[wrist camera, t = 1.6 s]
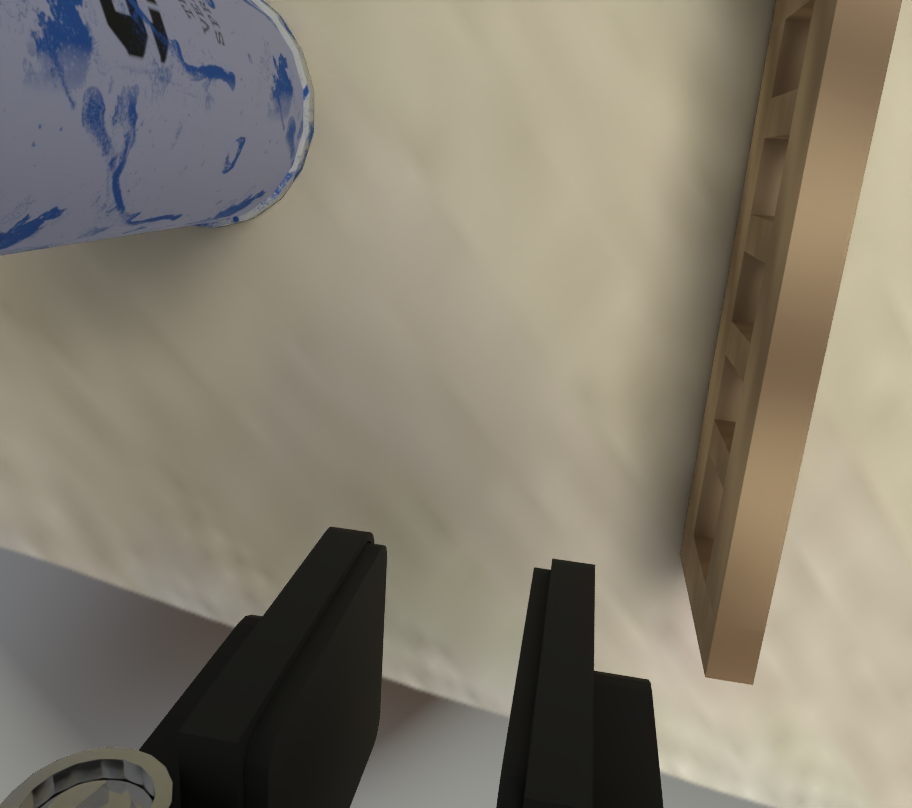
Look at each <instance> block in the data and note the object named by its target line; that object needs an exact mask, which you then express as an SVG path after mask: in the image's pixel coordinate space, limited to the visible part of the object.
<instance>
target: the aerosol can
mask: <svg viewBox="0 0 912 808" xmlns="http://www.w3.org/2000/svg"><path fill="white" fill-rule="evenodd" d="M313 133H314V91H313V87H312V83H311V80H310V76H309V72H308V69H307V65H306V62H305V58H304V54H303V51H302V50H301V48H300V46H299V45H298V43H297V41H296V40H295V38H294V37H293V35H292V33H291V32H290V30H289V28H288V27H287V25H286V23H285V22H284V20H283V19H282V17H281V16H280V15H279V14H278V13H277V12H276V11H275V10H273V9H272V8H271V7H270V6H269V5H268V4H267V3H266V2H264V1H263V0H0V255H5V254H11V253H18V252H24V251H31V250H37V249H44V248H50V247H57V246H63V245H69V244H76V243H82V242H89V241H95V240H102V239H108V238H115V237H121V236H128V235H134V234H141V233H147V232H154V231H160V230H166V229H173V228H179V227H186V226H202V227H214V228H217V227H222V226H226V225H230V224H234V223H237V222H241V221H245V220H249V219H252V218H255V217H256V216H257V215H259V214H260V213H262V212H263V211H264V210H266V209H267V208H269V207H270V206H272V205H273V204H274V203H276V202H277V201H279V200H280V199H281V198H282V197H283V196H284V194H285V193H286V191H287V190H288V189H289V187H290V186H291V184H292V183H293V181H294V180H295V179H296V177H297V176H298V174H299V173H300V172H301V170H302V168H303V165H304V162H305V158H306V155H307V152H308V149H309V146H310V142H311V139H312V136H313Z"/></svg>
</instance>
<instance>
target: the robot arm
mask: <svg viewBox="0 0 912 808" xmlns="http://www.w3.org/2000/svg"><path fill="white" fill-rule="evenodd" d="M386 568H387V549H386V546H384V545H378V544H374V537H373V534H372V533H371V532H364V531H357V530H350V529H343V528H336V527H330V528H328V529H327V531H326V532H325V533H324V535H323V536H322V537H321V539H320V540H319V541H318V543H317V544H316V545H315V547H314V548H313V549H312V551H311V552H310V553H309V555H308V556H307V558H306V559H305V560H304V562H303V563H302V564H301V566H300V567H299V568H298V570H297V571H296V572H295V574H294V575H293V576H292V578H291V579H290V580H289V582H288V583H287V584H286V586H285V587H284V589H283V590H282V591H281V593H280V594H279V595H278V597H277V598H276V599H275V601H274V602H273V603H272V605H271V606H270V607H269V609H268V610H267V611H266V613H265V614H264V616H256V615H249V616H245V617H244V618H243V619H242V620H241V621H240V622H239V623H238V624H237V626H236V627H235V628H234V629H233V631H232V632H231V633H230V635H229V636H228V637H227V638H226V640H225V641H224V642H223V644H222V645H221V646H220V647H219V649H218V650H217V651H216V652H215V654H214V655H213V656H212V658H211V659H210V660H209V661H208V663H207V664H206V665H205V667H204V668H203V669H202V670H201V672H200V673H199V674H198V676H197V677H196V678H195V679H194V681H193V682H192V683H191V684H190V686H189V687H188V688H187V689H186V691H185V692H184V693H183V695H182V696H181V697H180V699H179V700H178V701H177V702H176V703H175V705H174V706H173V707H172V709H171V710H170V711H169V712H168V714H167V715H166V716H165V718H164V719H163V720H162V722H161V723H160V724H159V725H158V726H157V728H156V729H155V730H154V732H153V733H152V734H151V736H150V737H149V738H148V739H147V741H146V742H145V743H144V744H143V746H142V747H141V748H140V750H139V751H138V750H135V749H132V748H116V747H105V748H98V749H92V750H85V751H81V752H78V753H76V754H73V755H70V756H67V757H64V758H61V759H58V760H56V761H54V762H53V763H51V764H49V765H47V766H45V767H44V768H42V769H40V770H38V771H37V772H35V773H33V774H32V775H31V776H30V777H28V778H27V779H26V780H25V781H24V782H23V783H21V784H20V785H19V786H18V787H17V788H16V789H15V790H13V791H12V792H11V793H10V795H8V797H7V798H6V799H5V800H4V801H3V802H2V803H1V804H0V808H350V805H351V803H352V800H353V797H354V795H355V792H356V790H357V787H358V785H359V782H360V779H361V777H362V774H363V772H364V769H365V766H366V764H367V761H368V759H369V756H370V754H371V751H372V748H373V746H374V743H375V739H376V735H377V731H378V726H379V719H380V702H381V680H382V657H383V635H384V612H385V590H386ZM594 609H595V565H593V564H586V563H579V562H572V561H565V560H558V559H552V566H551V570H548V569H542V568H535V567H534V572H533V578H532V584H531V590H530V596H529V603H528V609H527V615H526V621H525V627H524V634H523V640H522V646H521V652H520V659H519V665H518V671H517V677H516V683H515V690H514V696H513V702H512V708H511V714H510V721H509V727H508V733H507V739H506V746H505V752H504V758H503V764H502V770H501V777H500V784H499V792H498V799H497V807H496V808H663V799H662V789H661V779H660V768H659V758H658V748H657V738H656V728H655V718H654V708H653V698H652V689H651V683H650V681H649V680H647V679H641V678H635V677H629V676H623V675H617V674H611V673H605V672H599V671H594Z"/></svg>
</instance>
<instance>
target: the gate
mask: <svg viewBox="0 0 912 808" xmlns="http://www.w3.org/2000/svg"><path fill="white" fill-rule="evenodd" d="M901 3H902V0H776V3H775V9H774V15H773V21H772V27H771V32H770V38H769V44H768V50H767V55H766V61H765V67H764V73H763V78H762V84H761V90H760V96H759V102H758V107H757V113H756V119H755V125H754V130H753V136H752V142H751V148H750V153H749V159H748V165H747V171H746V177H745V182H744V188H743V194H742V200H741V205H740V211H739V217H738V223H737V228H736V234H735V240H734V246H733V251H732V257H731V263H730V269H729V275H728V280H727V286H726V292H725V298H724V303H723V309H722V315H721V321H720V326H719V332H718V338H717V344H716V350H715V355H714V361H713V367H712V373H711V378H710V384H709V390H708V396H707V401H706V407H705V413H704V419H703V425H702V430H701V436H700V442H699V448H698V453H697V459H696V465H695V471H694V476H693V482H692V488H691V494H690V500H689V505H688V511H687V517H686V523H685V528H684V534H683V540H682V546H681V551H680V557H681V562H682V566H683V571H684V576H685V581H686V586H687V591H688V596H689V601H690V605H691V610H692V615H693V620H694V625H695V630H696V635H697V640H698V644H699V649H700V654H701V659H702V664H703V669H704V674H705V677H707V678H713V679H720V680H726V681H732V682H738V683H744V684H751V685H753V682H754V677H755V673H756V668H757V664H758V659H759V655H760V650H761V645H762V641H763V636H764V632H765V627H766V622H767V618H768V613H769V609H770V604H771V599H772V595H773V590H774V586H775V581H776V576H777V572H778V567H779V563H780V558H781V554H782V549H783V544H784V540H785V535H786V531H787V526H788V521H789V517H790V512H791V508H792V503H793V498H794V494H795V489H796V485H797V480H798V476H799V471H800V466H801V462H802V457H803V453H804V448H805V443H806V439H807V434H808V430H809V425H810V420H811V416H812V411H813V407H814V402H815V398H816V393H817V388H818V384H819V379H820V375H821V370H822V365H823V361H824V356H825V352H826V347H827V342H828V338H829V333H830V329H831V324H832V320H833V315H834V310H835V306H836V301H837V297H838V292H839V287H840V283H841V278H842V274H843V269H844V264H845V260H846V255H847V251H848V246H849V241H850V237H851V232H852V228H853V223H854V219H855V214H856V209H857V205H858V200H859V196H860V191H861V186H862V182H863V177H864V173H865V168H866V163H867V159H868V154H869V150H870V145H871V141H872V136H873V131H874V127H875V122H876V118H877V113H878V108H879V104H880V99H881V95H882V90H883V85H884V81H885V76H886V72H887V67H888V63H889V58H890V53H891V49H892V44H893V40H894V35H895V30H896V26H897V21H898V17H899V12H900V7H901Z"/></svg>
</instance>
